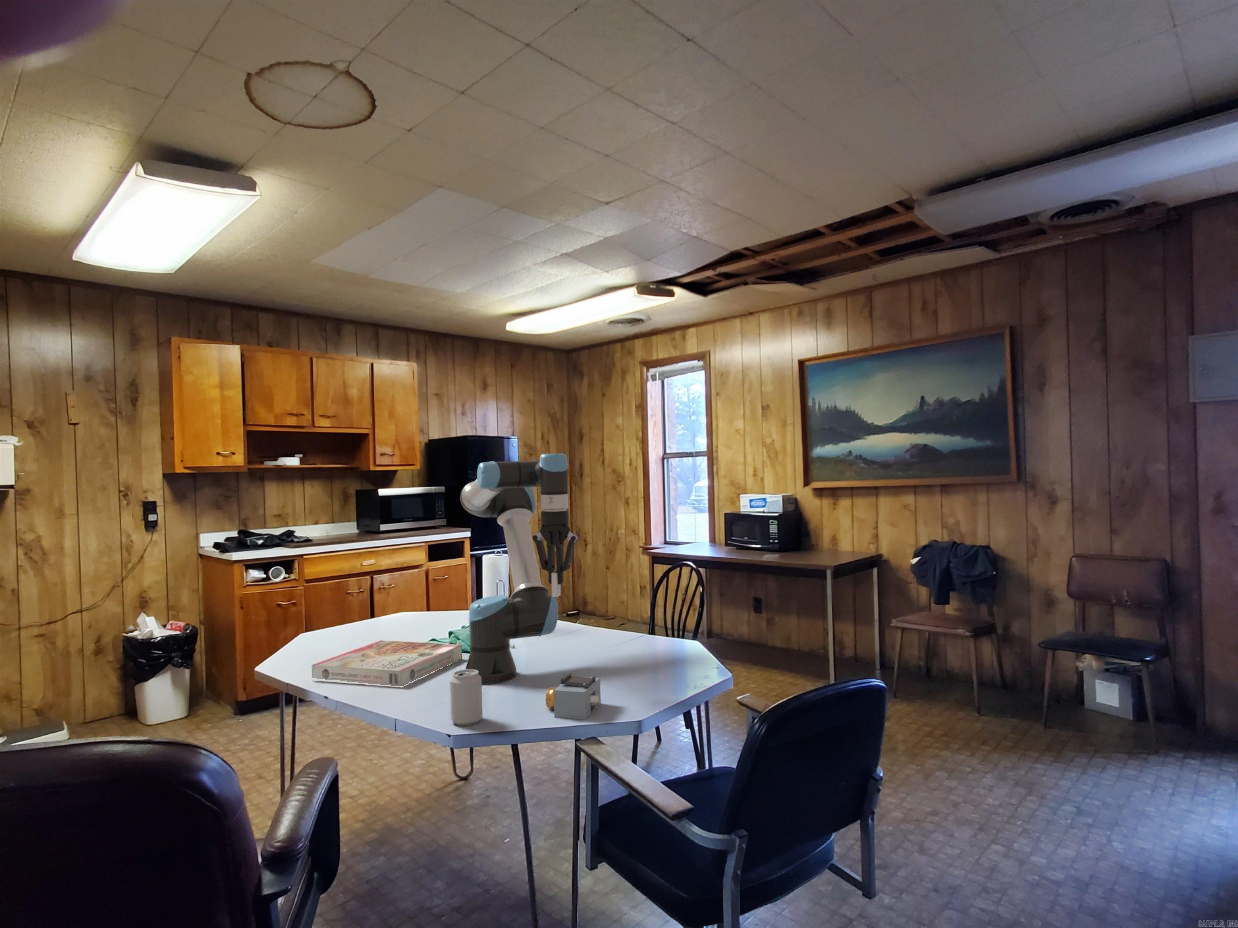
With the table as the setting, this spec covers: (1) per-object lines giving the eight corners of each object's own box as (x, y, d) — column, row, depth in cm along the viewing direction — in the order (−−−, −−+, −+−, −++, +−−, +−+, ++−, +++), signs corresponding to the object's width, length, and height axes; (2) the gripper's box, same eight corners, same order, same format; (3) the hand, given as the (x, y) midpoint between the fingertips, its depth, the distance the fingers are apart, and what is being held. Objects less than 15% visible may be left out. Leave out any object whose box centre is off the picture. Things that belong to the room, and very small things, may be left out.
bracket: (554, 716, 171) (553, 690, 171) (571, 701, 182) (570, 676, 182) (585, 719, 169) (584, 691, 169) (600, 703, 180) (599, 677, 180)
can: (461, 715, 174) (459, 666, 175) (488, 717, 172) (486, 668, 173) (445, 725, 167) (443, 675, 168) (473, 727, 165) (471, 676, 165)
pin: (546, 710, 175) (545, 690, 175) (553, 704, 180) (553, 684, 180) (595, 714, 171) (594, 693, 172) (601, 707, 176) (600, 687, 176)
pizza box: (380, 640, 241) (461, 644, 230) (381, 655, 240) (462, 660, 230) (311, 664, 210) (401, 671, 200) (312, 682, 210) (401, 689, 200)
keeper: (559, 684, 173) (559, 679, 173) (569, 677, 180) (569, 671, 180) (587, 688, 171) (587, 682, 171) (596, 680, 178) (596, 674, 178)
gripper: (527, 510, 189) (528, 597, 190) (572, 511, 186) (573, 599, 186) (538, 508, 197) (539, 592, 197) (581, 508, 193) (583, 594, 193)
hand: (556, 595), depth 191 cm, fingers closed
